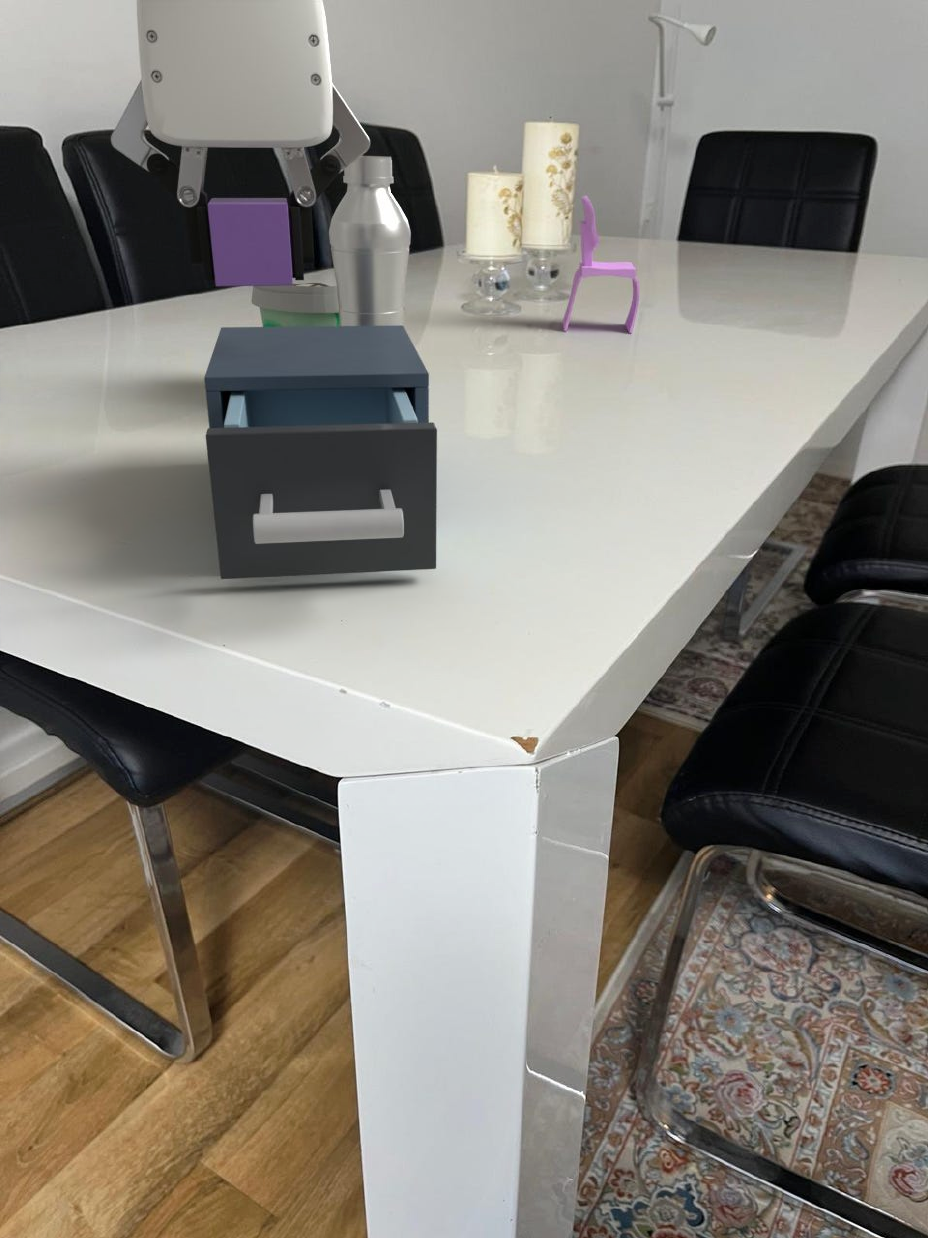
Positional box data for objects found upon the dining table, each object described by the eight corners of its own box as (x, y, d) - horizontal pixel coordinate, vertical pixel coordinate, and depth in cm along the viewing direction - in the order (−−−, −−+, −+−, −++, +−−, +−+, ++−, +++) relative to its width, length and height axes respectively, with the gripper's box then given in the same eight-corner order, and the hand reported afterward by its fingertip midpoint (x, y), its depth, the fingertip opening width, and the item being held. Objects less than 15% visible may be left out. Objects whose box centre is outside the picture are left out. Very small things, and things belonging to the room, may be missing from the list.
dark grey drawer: (448, 608, 48) (450, 457, 44) (214, 620, 46) (196, 465, 43) (409, 485, 64) (408, 367, 60) (234, 492, 62) (222, 370, 59)
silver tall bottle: (321, 424, 79) (307, 156, 70) (356, 404, 85) (348, 154, 76) (392, 433, 78) (388, 158, 68) (424, 412, 83) (424, 156, 74)
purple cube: (292, 285, 56) (287, 203, 54) (215, 286, 55) (207, 203, 53) (291, 274, 60) (286, 197, 58) (219, 275, 59) (211, 197, 57)
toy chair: (637, 335, 116) (650, 199, 109) (564, 332, 116) (572, 197, 109) (630, 322, 123) (643, 194, 116) (562, 320, 124) (570, 192, 117)
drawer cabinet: (428, 528, 60) (429, 373, 55) (220, 537, 58) (203, 377, 53) (404, 456, 72) (403, 325, 68) (233, 461, 71) (220, 327, 66)
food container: (230, 391, 88) (219, 277, 84) (277, 379, 93) (270, 270, 88) (330, 414, 82) (325, 292, 78) (376, 399, 87) (373, 283, 82)
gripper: (380, -78, 54) (388, 267, 62) (64, -92, 51) (117, 270, 60) (395, -105, 47) (402, 285, 56) (33, -123, 45) (97, 289, 53)
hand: (254, 274), depth 57 cm, fingers closed on purple cube, 4 cm apart
